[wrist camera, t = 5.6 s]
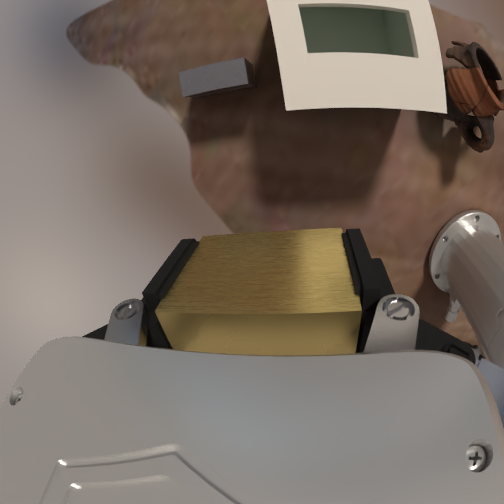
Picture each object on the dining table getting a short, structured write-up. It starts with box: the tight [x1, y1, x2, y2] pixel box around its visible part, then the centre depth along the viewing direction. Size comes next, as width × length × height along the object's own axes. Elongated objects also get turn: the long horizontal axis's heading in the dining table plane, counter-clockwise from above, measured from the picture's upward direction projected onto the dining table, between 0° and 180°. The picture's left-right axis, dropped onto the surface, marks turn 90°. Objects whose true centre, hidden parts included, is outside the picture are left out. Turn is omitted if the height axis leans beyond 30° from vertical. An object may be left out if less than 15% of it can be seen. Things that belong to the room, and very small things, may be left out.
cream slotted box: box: [267, 0, 447, 114], centre depth 17 cm, size 12×12×10 cm
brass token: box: [155, 228, 362, 355], centre depth 10 cm, size 2×6×5 cm, turn 98°
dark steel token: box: [179, 58, 256, 97], centre depth 22 cm, size 2×6×5 cm, turn 98°
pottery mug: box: [435, 41, 504, 152], centre depth 18 cm, size 12×10×8 cm
